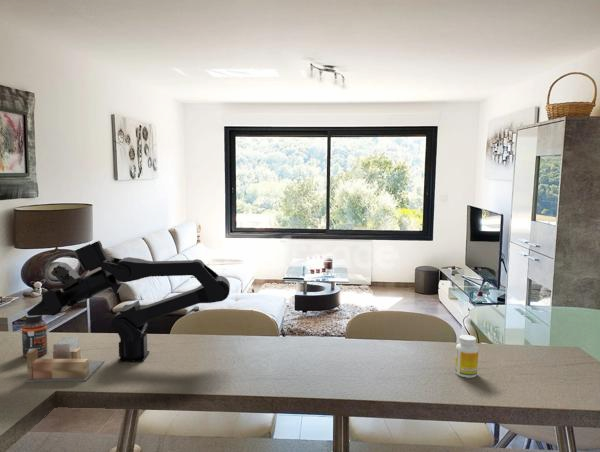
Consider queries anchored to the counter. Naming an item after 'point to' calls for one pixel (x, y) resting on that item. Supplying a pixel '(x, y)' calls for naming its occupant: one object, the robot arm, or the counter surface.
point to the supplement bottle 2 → (466, 357)
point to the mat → (92, 368)
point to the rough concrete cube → (65, 347)
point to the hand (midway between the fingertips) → (36, 310)
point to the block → (57, 366)
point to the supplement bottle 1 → (34, 335)
